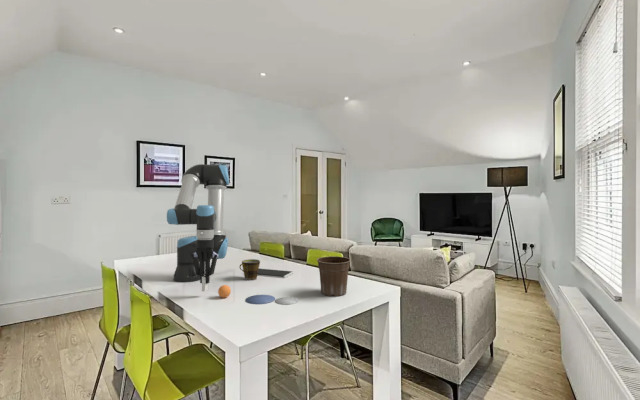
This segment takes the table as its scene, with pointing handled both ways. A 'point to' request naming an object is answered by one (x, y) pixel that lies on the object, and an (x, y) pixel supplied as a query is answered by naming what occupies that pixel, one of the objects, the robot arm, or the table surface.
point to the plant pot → (333, 275)
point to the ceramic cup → (250, 268)
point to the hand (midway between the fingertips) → (204, 290)
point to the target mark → (260, 299)
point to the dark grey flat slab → (274, 273)
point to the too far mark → (286, 300)
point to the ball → (224, 291)
